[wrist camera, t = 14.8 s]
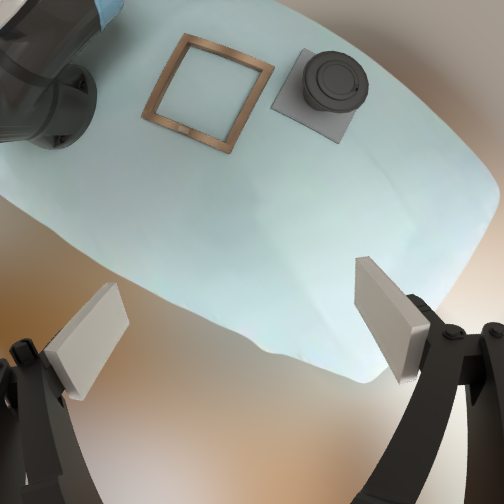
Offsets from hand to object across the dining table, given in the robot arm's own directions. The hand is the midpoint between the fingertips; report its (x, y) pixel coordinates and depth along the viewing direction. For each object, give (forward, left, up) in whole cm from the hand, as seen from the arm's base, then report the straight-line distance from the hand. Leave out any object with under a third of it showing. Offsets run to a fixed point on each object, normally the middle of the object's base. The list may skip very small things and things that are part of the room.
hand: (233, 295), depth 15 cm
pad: (+2, +19, -30) cm, 36 cm away
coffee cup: (+2, +19, -29) cm, 35 cm away
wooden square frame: (-13, +12, -30) cm, 35 cm away
